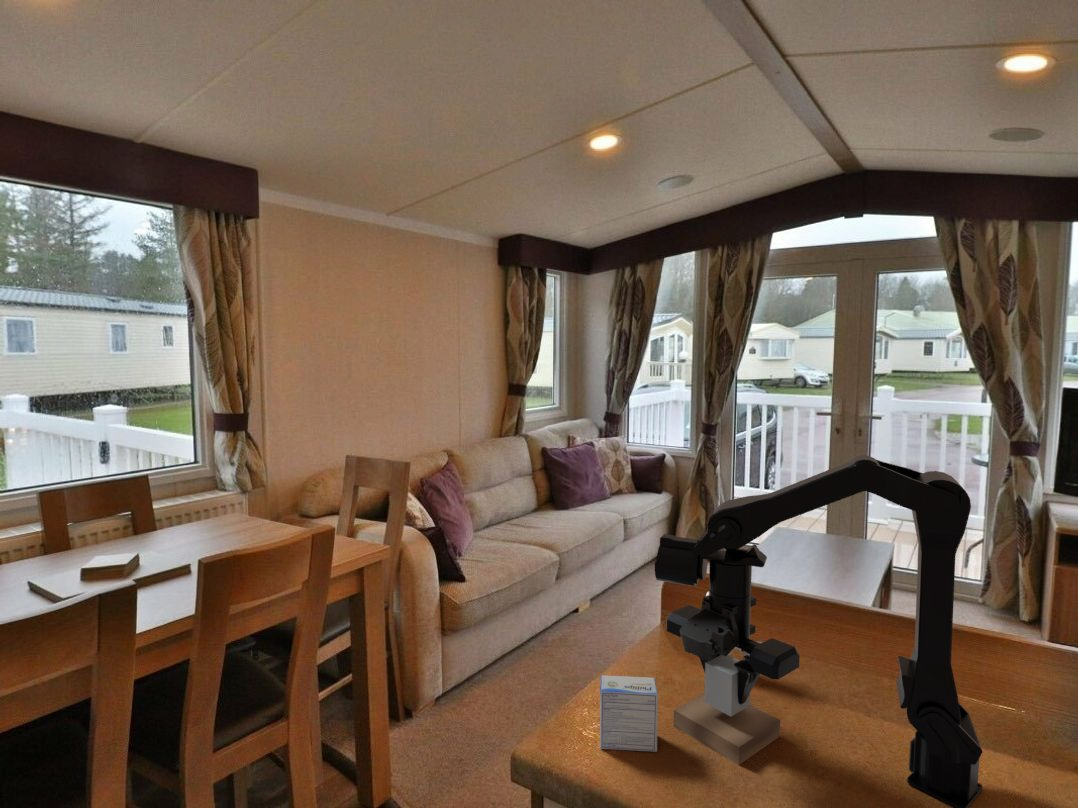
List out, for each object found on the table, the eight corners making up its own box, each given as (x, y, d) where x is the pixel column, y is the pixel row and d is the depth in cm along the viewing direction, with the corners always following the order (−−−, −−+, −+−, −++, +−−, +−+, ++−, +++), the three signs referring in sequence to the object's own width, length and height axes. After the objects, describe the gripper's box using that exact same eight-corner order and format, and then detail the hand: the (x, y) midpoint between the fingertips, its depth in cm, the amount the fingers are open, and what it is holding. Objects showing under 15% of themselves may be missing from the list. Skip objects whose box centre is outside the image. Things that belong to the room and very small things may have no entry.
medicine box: (654, 734, 90) (655, 676, 90) (657, 754, 86) (658, 693, 85) (599, 730, 91) (600, 673, 90) (599, 750, 87) (600, 690, 86)
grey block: (749, 705, 90) (750, 665, 90) (730, 716, 87) (732, 675, 87) (723, 692, 94) (724, 653, 93) (704, 702, 91) (705, 662, 90)
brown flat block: (779, 739, 90) (780, 719, 90) (738, 768, 84) (739, 747, 83) (714, 705, 98) (715, 687, 98) (673, 729, 92) (673, 709, 92)
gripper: (641, 584, 91) (640, 687, 93) (755, 629, 77) (751, 750, 78) (690, 568, 98) (688, 663, 100) (803, 606, 84) (799, 718, 85)
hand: (727, 695), depth 90 cm, fingers closed on grey block, 4 cm apart
